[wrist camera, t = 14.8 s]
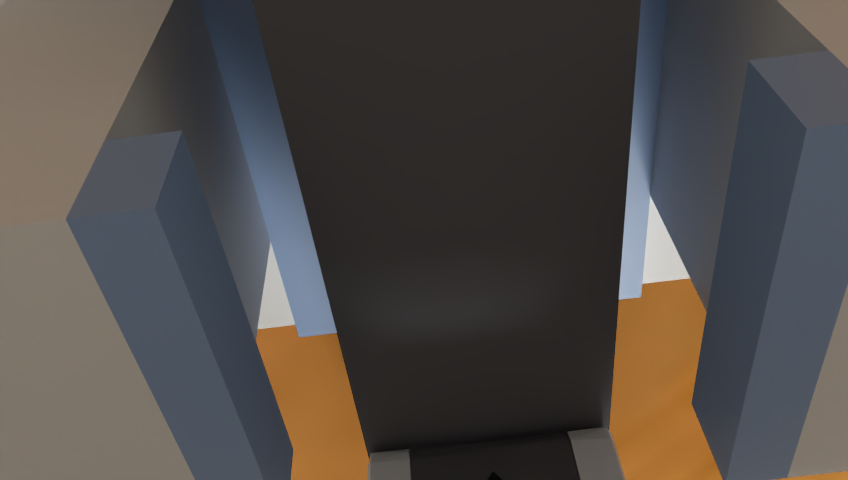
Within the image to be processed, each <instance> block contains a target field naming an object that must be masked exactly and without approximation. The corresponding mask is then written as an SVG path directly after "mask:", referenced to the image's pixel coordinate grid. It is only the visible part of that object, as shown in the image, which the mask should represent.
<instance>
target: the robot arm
mask: <svg viewBox="0 0 848 480" xmlns="http://www.w3.org/2000/svg"><path fill="white" fill-rule="evenodd" d="M368 480H625V477H624V473H623V470H622V467H621V463H620V460H619V457H618V453H617V450H616V447H615V443H614V440H613V437H612V434H611V433H610V431H609V430H608V429H607V428H606V427H598V428H591V429H583V430H575V431H568V432H565V431H557V432H549V433H541V434H533V435H525V436H518V437H510V438H502V439H494V440H488V442H479V443H469V444H458V445H447V446H437V447H426V448H415V449H403V450H394V451H385V452H376V453H371V454H370V459H369V465H368Z"/></svg>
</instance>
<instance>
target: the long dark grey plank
mask: <svg viewBox="0 0 848 480" xmlns="http://www.w3.org/2000/svg"><path fill="white" fill-rule="evenodd" d="M252 3H253V7H254V10H255V14H256V18H257V22H258V26H259V30H260V34H261V38H262V42H263V46H264V50H265V53H266V57H267V61H268V65H269V69H270V73H271V77H272V81H273V85H274V89H275V93H276V96H277V100H278V104H279V108H280V112H281V116H282V120H283V124H284V128H285V132H286V136H287V140H288V143H289V147H290V151H291V155H292V159H293V163H294V167H295V171H296V175H297V179H298V183H299V186H300V190H301V194H302V198H303V202H304V206H305V210H306V214H307V218H308V222H309V226H310V229H311V233H312V237H313V241H314V245H315V249H316V253H317V257H318V261H319V265H320V269H321V272H322V276H323V280H324V284H325V288H326V292H327V296H328V300H329V304H330V308H331V312H332V315H333V319H334V323H335V327H336V331H337V335H338V339H339V343H340V347H341V351H342V355H343V358H344V362H345V366H346V370H347V374H348V378H349V382H350V386H351V390H352V394H353V398H354V402H355V405H356V409H357V413H358V417H359V421H360V425H361V429H362V433H363V437H364V441H365V445H366V448H367V452H368V456H369V459H370V454H371V453H376V452H385V451H394V450H403V449H415V448H426V447H437V446H447V445H458V444H469V443H479V442H488V440H494V439H502V438H510V437H518V436H525V435H533V434H541V433H549V432H557V431H565V432H568V431H575V430H583V429H591V428H598V427H606V428H607V429H608V430H609V422H610V409H611V395H612V382H613V368H614V355H615V342H616V328H617V315H618V301H619V288H620V275H621V261H622V248H623V235H624V221H625V208H626V194H627V181H628V168H629V154H630V141H631V127H632V114H633V101H634V87H635V74H636V60H637V47H638V34H639V20H640V7H641V0H252Z"/></svg>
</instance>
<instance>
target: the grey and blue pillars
mask: <svg viewBox="0 0 848 480" xmlns="http://www.w3.org/2000/svg"><path fill="white" fill-rule="evenodd" d="M687 278H691V281H692V283H693V285H694V287H695V289H696V291H697V293H698V295H699V297H700V299H701V301H702V303H703V305H704V307H705V309H706V311H707V314H706V320H705V326H704V332H703V338H702V344H701V351H700V357H699V363H698V369H697V375H696V381H695V387H694V393H693V399H692V405H693V408H694V410H695V413H696V415H697V417H698V420H699V422H700V425H701V427H702V430H703V432H704V435H705V437H706V439H707V442H708V444H709V447H710V449H711V452H712V454H713V456H714V459H715V461H716V464H717V466H718V469H719V471H720V473H721V476H722V478H723V480H771V479H780V478H789V477H798V476H807V475H816V474H824V473H833V472H842V471H848V0H641V7H640V20H639V34H638V47H637V60H636V74H635V87H634V101H633V114H632V127H631V141H630V154H629V168H628V181H627V194H626V208H625V221H624V235H623V248H622V261H621V275H620V288H619V300H621V299H629V298H638V297H641V292H642V284H644V283H653V282H661V281H670V280H678V279H687ZM289 325H296V329H297V332H298V335H299V337H306V336H315V335H323V334H332V333H337V331H336V327H335V323H334V319H333V315H332V312H331V308H330V304H329V300H328V296H327V292H326V288H325V284H324V280H323V276H322V272H321V269H320V265H319V261H318V257H317V253H316V249H315V245H314V241H313V237H312V233H311V229H310V226H309V222H308V218H307V214H306V210H305V206H304V202H303V198H302V194H301V190H300V186H299V183H298V179H297V175H296V171H295V167H294V163H293V159H292V155H291V151H290V147H289V143H288V140H287V136H286V132H285V128H284V124H283V120H282V116H281V112H280V108H279V104H278V100H277V96H276V93H275V89H274V85H273V81H272V77H271V73H270V69H269V65H268V61H267V57H266V53H265V50H264V46H263V42H262V38H261V34H260V30H259V26H258V22H257V18H256V14H255V10H254V7H253V3H252V0H0V480H291V468H292V457H293V447H292V444H291V442H290V439H289V436H288V433H287V430H286V427H285V424H284V421H283V419H282V416H281V413H280V410H279V407H278V404H277V401H276V398H275V396H274V393H273V390H272V387H271V384H270V381H269V378H268V375H267V373H266V370H265V367H264V364H263V361H262V358H261V355H260V353H259V350H258V347H257V344H256V335H257V329H264V328H272V327H280V326H289Z"/></svg>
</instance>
